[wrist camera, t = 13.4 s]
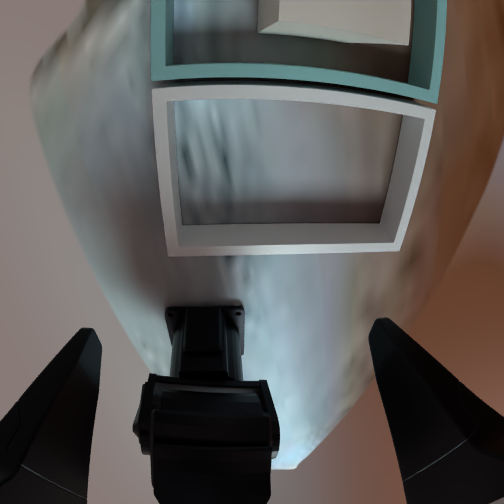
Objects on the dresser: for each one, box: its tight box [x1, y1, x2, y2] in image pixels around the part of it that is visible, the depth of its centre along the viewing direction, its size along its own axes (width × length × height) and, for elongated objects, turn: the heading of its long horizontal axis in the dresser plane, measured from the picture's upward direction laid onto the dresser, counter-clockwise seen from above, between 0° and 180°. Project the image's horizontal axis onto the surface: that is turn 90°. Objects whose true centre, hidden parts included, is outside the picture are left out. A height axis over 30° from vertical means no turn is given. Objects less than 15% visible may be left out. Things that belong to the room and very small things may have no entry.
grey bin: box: [152, 81, 436, 257], centre depth 18 cm, size 10×15×2 cm, turn 88°
